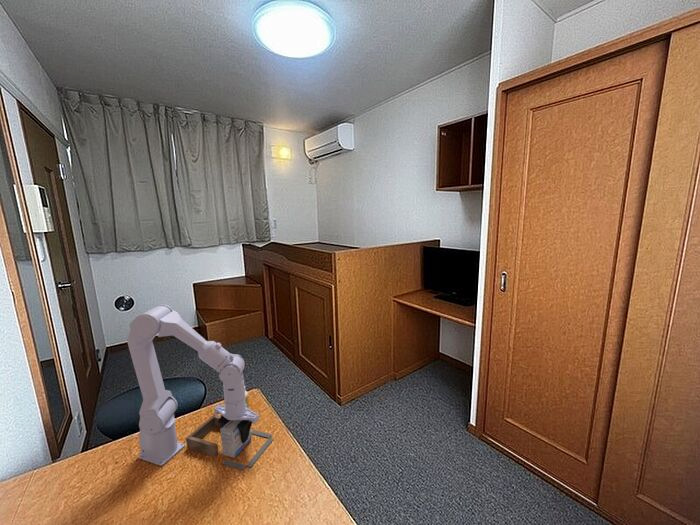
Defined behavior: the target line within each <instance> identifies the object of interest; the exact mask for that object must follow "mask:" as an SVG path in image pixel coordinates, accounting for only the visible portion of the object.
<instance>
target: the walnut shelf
mask: <svg viewBox="0 0 700 525" xmlns="http://www.w3.org/2000/svg"><path fill="white" fill-rule="evenodd" d="M220 418H221V415H216V414H213V415H212V416H211V417H209V418H208V419H207V420H206V421H204V422H203V423H202V424H201V425H200V426H199V427H197V428H196V429H195V430H193V432H191V433H190V434H189V435H188V436H186V437H185V442H186V449H187V450H191V451H194V452H197V453H201V454H204V455H206V456H210V457H214V458H217V457H218V456H219V455H220V454H219V446H218V443H215V442H211V441H208V440H205V439H203V438H204V437H206V436H207V435H208V434H209V433H210V432H211V431H212V430H213V429H214V428H218V429H221V428H222V426H221V425H220V424H219V423H218V420H219V419H220Z"/></svg>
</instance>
